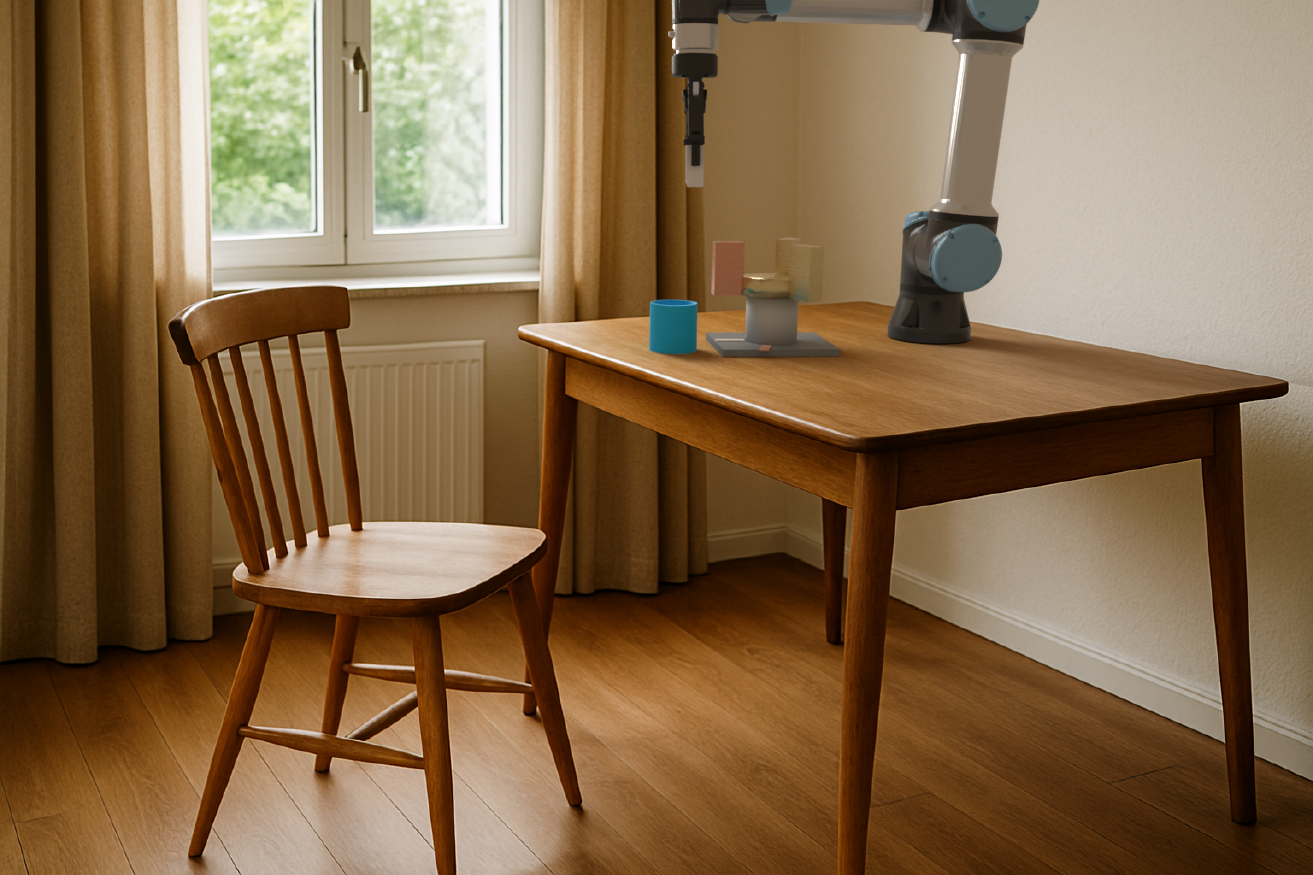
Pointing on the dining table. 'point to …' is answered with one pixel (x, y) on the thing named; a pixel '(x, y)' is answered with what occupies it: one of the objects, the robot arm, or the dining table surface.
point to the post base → (777, 350)
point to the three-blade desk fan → (791, 279)
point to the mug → (673, 326)
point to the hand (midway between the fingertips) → (694, 185)
